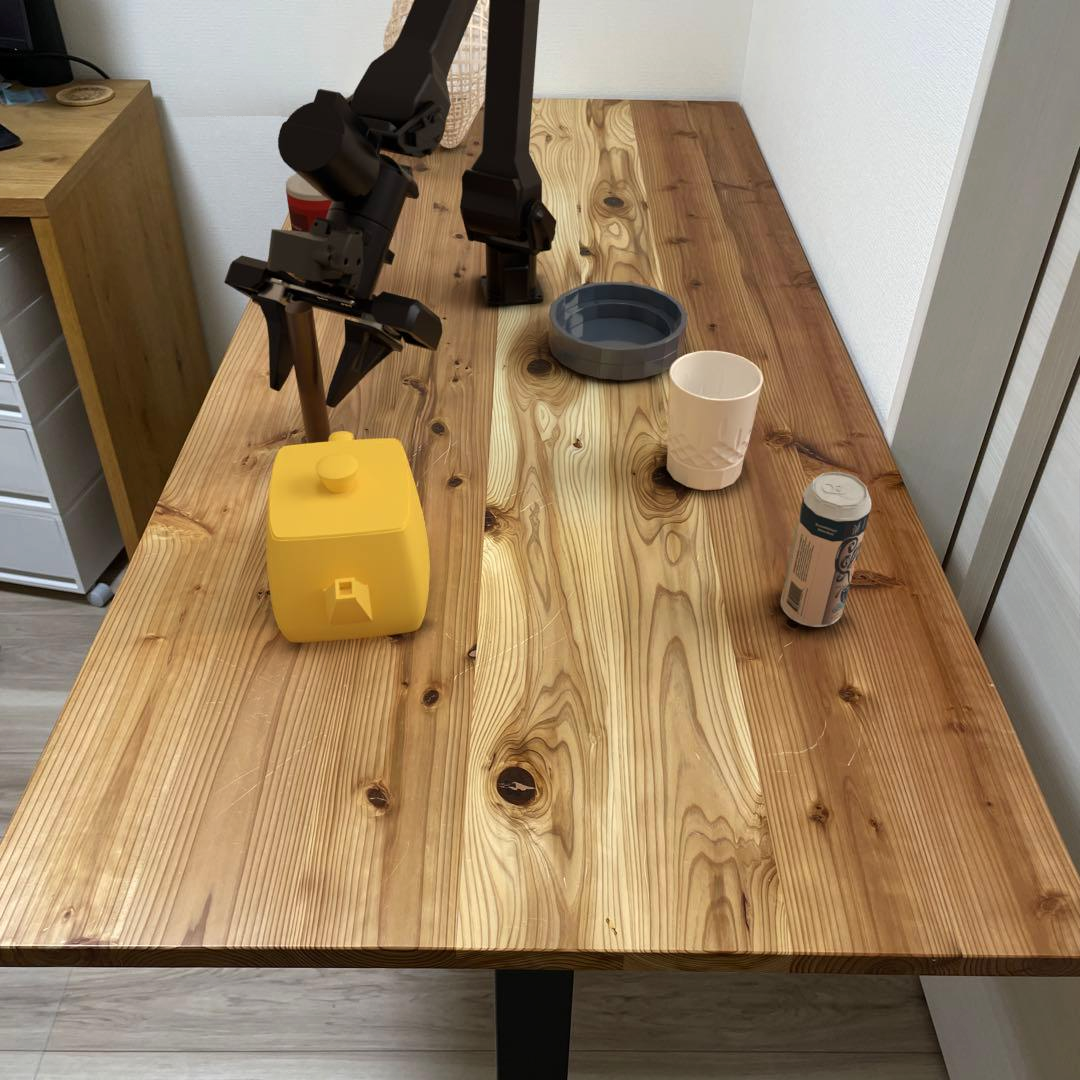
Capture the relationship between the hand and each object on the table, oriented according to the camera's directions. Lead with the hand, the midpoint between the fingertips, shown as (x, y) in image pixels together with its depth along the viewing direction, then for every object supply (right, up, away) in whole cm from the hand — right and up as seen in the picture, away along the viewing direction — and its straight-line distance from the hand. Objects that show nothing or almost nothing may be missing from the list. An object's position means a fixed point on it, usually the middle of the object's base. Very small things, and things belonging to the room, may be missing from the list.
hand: (301, 398), depth 91 cm
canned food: (-4, +19, +35) cm, 40 cm away
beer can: (+41, -18, -7) cm, 45 cm away
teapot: (+5, -16, -6) cm, 18 cm away
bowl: (+28, +8, +22) cm, 37 cm away
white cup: (+35, -6, +7) cm, 36 cm away
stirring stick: (+1, -5, +6) cm, 8 cm away
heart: (+7, +45, +65) cm, 79 cm away
